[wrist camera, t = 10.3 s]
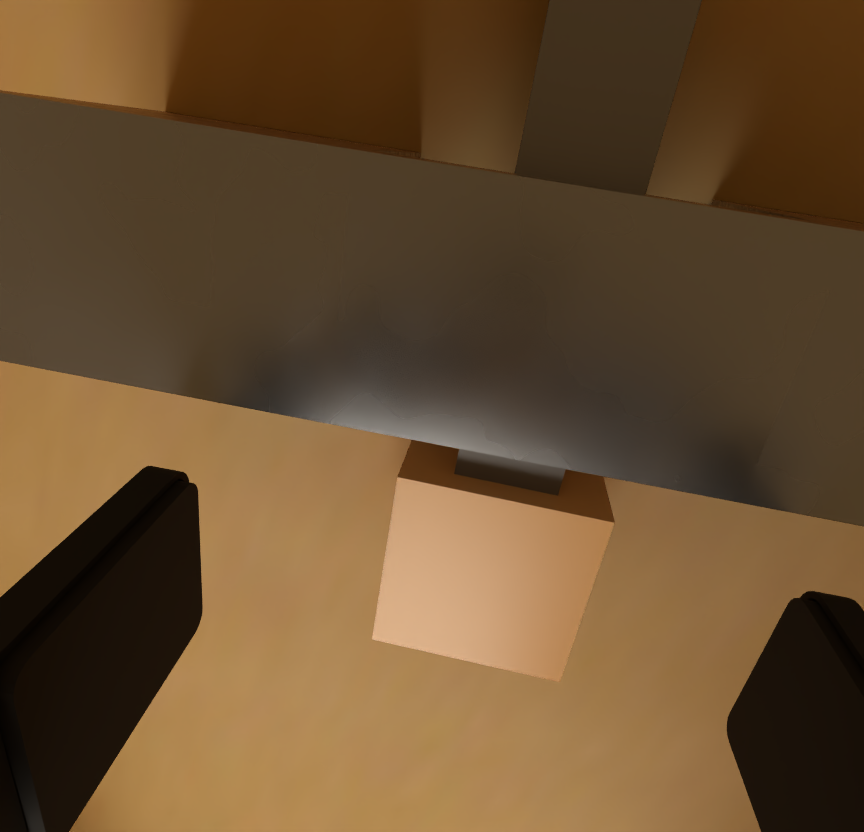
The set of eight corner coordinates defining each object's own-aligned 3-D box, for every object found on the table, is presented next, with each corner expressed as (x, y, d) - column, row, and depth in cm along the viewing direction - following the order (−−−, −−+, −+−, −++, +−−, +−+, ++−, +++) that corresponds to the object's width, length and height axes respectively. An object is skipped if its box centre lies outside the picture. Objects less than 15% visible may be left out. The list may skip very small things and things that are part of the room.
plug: (551, 571, 17) (560, 682, 14) (402, 539, 17) (372, 639, 14) (734, -30, 11) (835, -120, 8) (505, -65, 12) (499, -168, 8)
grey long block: (912, 418, 14) (1162, 583, 9) (170, 285, 15) (-26, 355, 10) (1003, 246, 12) (1383, 314, 7) (164, 111, 14) (-75, 80, 8)
